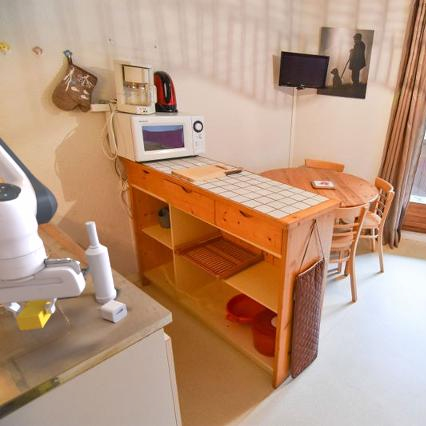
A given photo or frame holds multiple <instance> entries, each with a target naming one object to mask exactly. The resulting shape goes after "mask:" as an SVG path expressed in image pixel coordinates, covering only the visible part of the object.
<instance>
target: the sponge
mask: <svg viewBox="0 0 426 426" xmlns="http://www.w3.org/2000/svg"><path fill="white" fill-rule="evenodd" d="M46 304H50V302H47V301H46V299H45V300H35V301H27V302H26V303H25V305H24V306H25V307H24V308H23V310H22V311H21V312H20V313H19V315H18V316H17V317H16V318H15V320H16V323H17V326H18V328H19V331H20V332H22V331H29V330H36V329H37V330H38V329H43V328H44V327H45V325H46V323H47V322H48V320H49V319H50V317H51V316H52V314H45V313H44V310H43V308H44V307H45V305H46Z"/></svg>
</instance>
